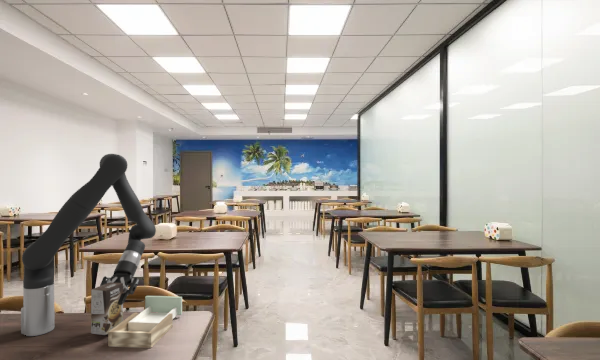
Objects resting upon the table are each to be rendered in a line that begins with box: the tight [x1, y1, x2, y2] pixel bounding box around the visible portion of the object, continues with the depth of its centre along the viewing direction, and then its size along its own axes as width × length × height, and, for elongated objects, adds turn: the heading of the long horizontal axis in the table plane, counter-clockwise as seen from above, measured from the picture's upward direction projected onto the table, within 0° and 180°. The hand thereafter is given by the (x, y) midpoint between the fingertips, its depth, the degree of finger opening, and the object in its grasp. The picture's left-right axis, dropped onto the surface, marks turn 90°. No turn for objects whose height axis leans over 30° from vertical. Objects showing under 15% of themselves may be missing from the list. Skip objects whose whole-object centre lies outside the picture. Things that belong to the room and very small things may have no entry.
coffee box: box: [90, 281, 124, 336], centre depth 127 cm, size 9×6×16 cm
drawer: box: [128, 295, 183, 331], centre depth 135 cm, size 15×16×7 cm
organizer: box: [107, 312, 174, 349], centre depth 125 cm, size 15×17×5 cm
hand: (110, 303), depth 129 cm, fingers closed on coffee box, 6 cm apart
